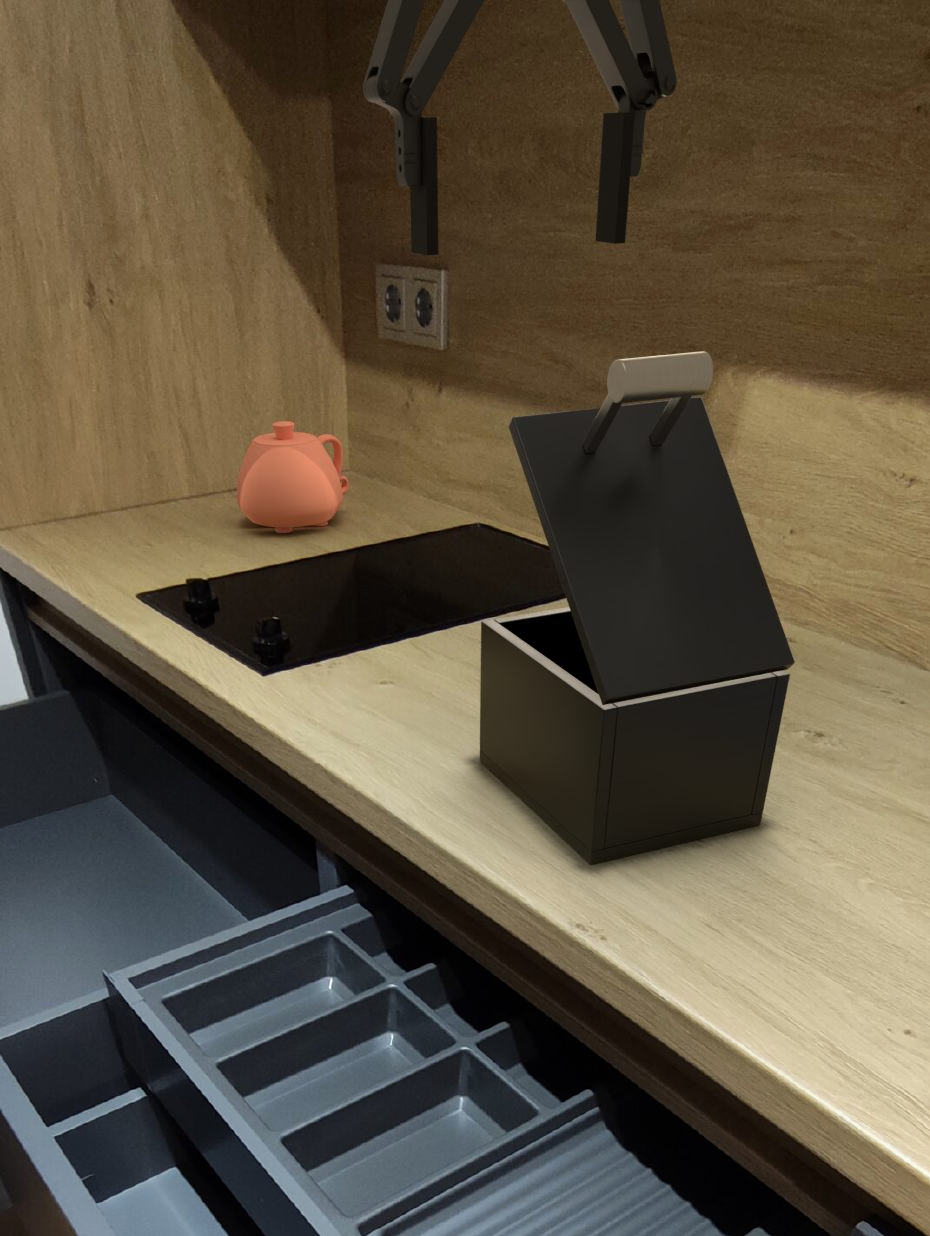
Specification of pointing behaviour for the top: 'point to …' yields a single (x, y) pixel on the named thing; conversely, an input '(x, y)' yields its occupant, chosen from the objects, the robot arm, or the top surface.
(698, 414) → the bin lid
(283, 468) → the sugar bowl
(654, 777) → the bin
